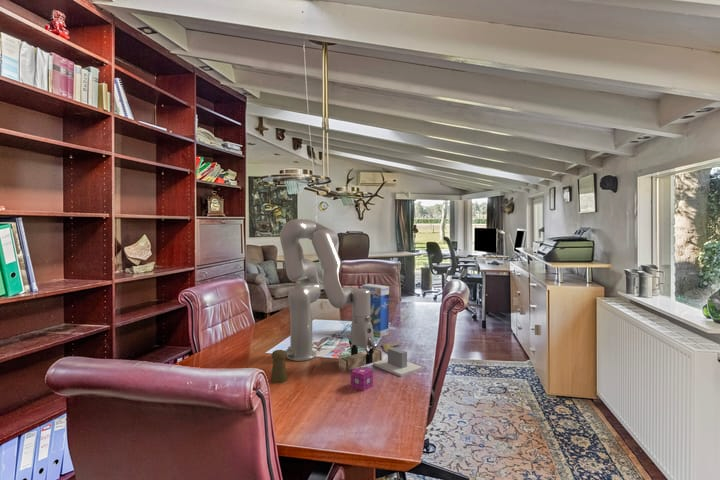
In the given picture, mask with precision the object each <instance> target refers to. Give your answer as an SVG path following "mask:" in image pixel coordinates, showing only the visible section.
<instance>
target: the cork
mask: <svg viewBox="0 0 720 480" xmlns="http://www.w3.org/2000/svg"><path fill="white" fill-rule="evenodd" d="M286 358H287V356H286V352H285V351H284V350H283V349H276V350H273V351H272V353H271V359H272V369H271V375H270V376H271V377H270V382H271V383H273V384H282V383H283V384H284V383H285V382H288V375H287V367H286V360H285V359H286Z"/></svg>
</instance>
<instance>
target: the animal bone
mask: <svg viewBox="0 0 720 480" xmlns="http://www.w3.org/2000/svg"><path fill="white" fill-rule="evenodd" d="M401 344H403V342H402V341H401V342H394V343H386V342H385V343H382V344H381V347H382V349H383V350H382V351H384V353H386V354H388V348H391V347H395V346H398V345H401Z"/></svg>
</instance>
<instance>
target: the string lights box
mask: <svg viewBox="0 0 720 480" xmlns="http://www.w3.org/2000/svg"><path fill="white" fill-rule="evenodd" d="M361 289H368V290H369V291H370V315H371V323H372V327H373V335H374V337H379V338H382V337H385V336H389V319H390V317H389V314H390V313H389V309H390V307H389V306H390V305H389V304H390V286H388V285H382V284H377V283H375V284H373V283H367V284H366V283H365V284H361Z"/></svg>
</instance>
